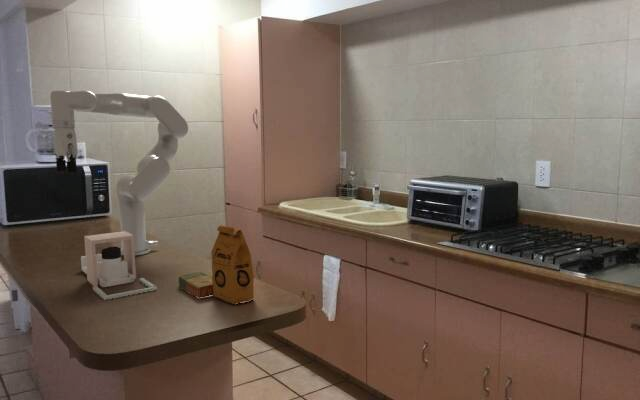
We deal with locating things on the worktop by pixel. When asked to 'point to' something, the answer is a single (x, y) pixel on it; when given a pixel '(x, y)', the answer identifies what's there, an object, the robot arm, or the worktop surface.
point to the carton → (197, 284)
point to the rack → (102, 281)
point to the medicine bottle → (112, 265)
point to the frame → (147, 283)
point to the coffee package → (232, 267)
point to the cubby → (104, 238)
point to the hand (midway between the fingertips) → (66, 171)
